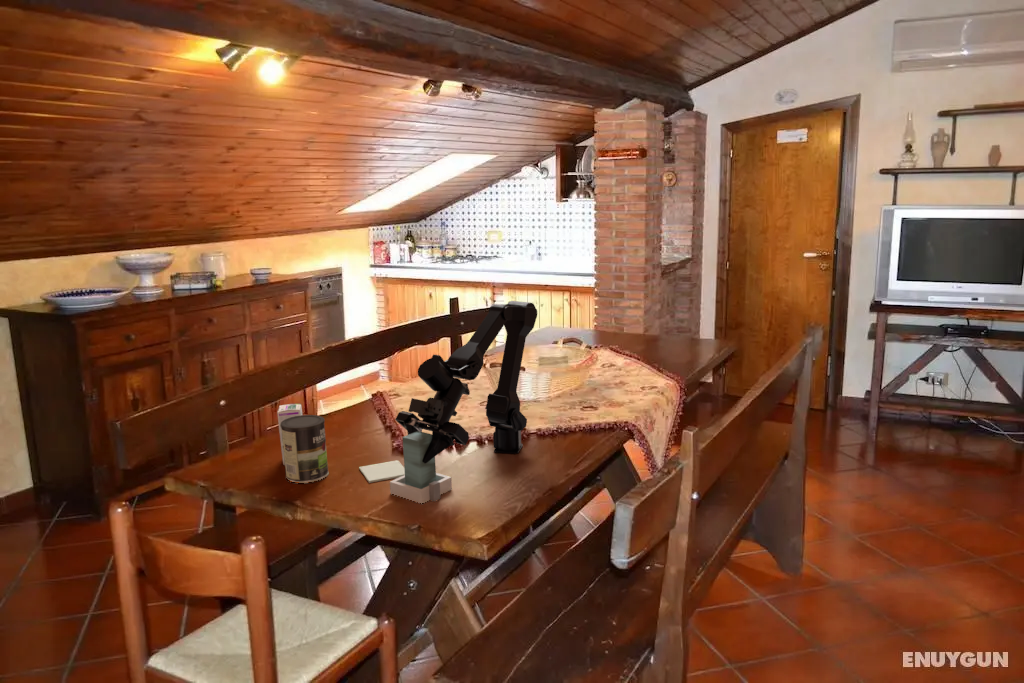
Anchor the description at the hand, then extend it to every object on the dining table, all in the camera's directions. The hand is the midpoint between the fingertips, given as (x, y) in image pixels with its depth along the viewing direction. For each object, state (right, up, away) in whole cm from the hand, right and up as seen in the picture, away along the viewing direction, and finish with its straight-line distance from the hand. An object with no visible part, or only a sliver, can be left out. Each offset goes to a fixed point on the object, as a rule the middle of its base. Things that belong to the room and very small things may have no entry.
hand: (415, 460), depth 179 cm
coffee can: (-28, -6, +14) cm, 32 cm away
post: (+1, -6, +3) cm, 7 cm away
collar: (+1, -8, +3) cm, 8 cm away
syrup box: (-34, -4, +24) cm, 42 cm away
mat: (-10, -5, +15) cm, 19 cm away
